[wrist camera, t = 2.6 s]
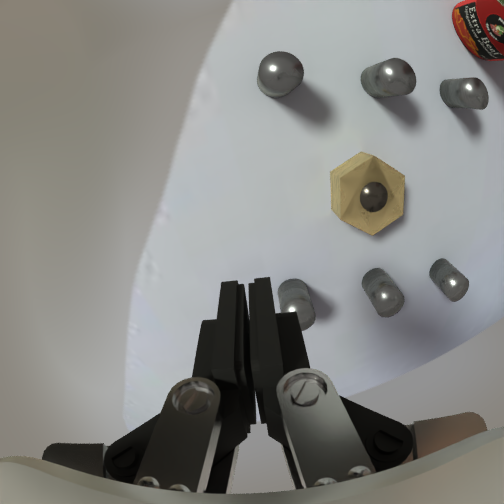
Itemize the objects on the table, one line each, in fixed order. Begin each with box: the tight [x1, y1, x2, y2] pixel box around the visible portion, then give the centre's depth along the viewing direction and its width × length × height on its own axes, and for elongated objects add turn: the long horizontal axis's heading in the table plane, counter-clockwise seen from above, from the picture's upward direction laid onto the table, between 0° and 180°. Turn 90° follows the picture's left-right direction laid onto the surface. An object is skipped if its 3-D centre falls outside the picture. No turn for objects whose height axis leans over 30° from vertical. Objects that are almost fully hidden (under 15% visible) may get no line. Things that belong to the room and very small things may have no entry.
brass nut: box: [330, 152, 405, 236], centre depth 23 cm, size 7×6×3 cm
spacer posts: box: [257, 51, 488, 331], centre depth 22 cm, size 21×23×4 cm
